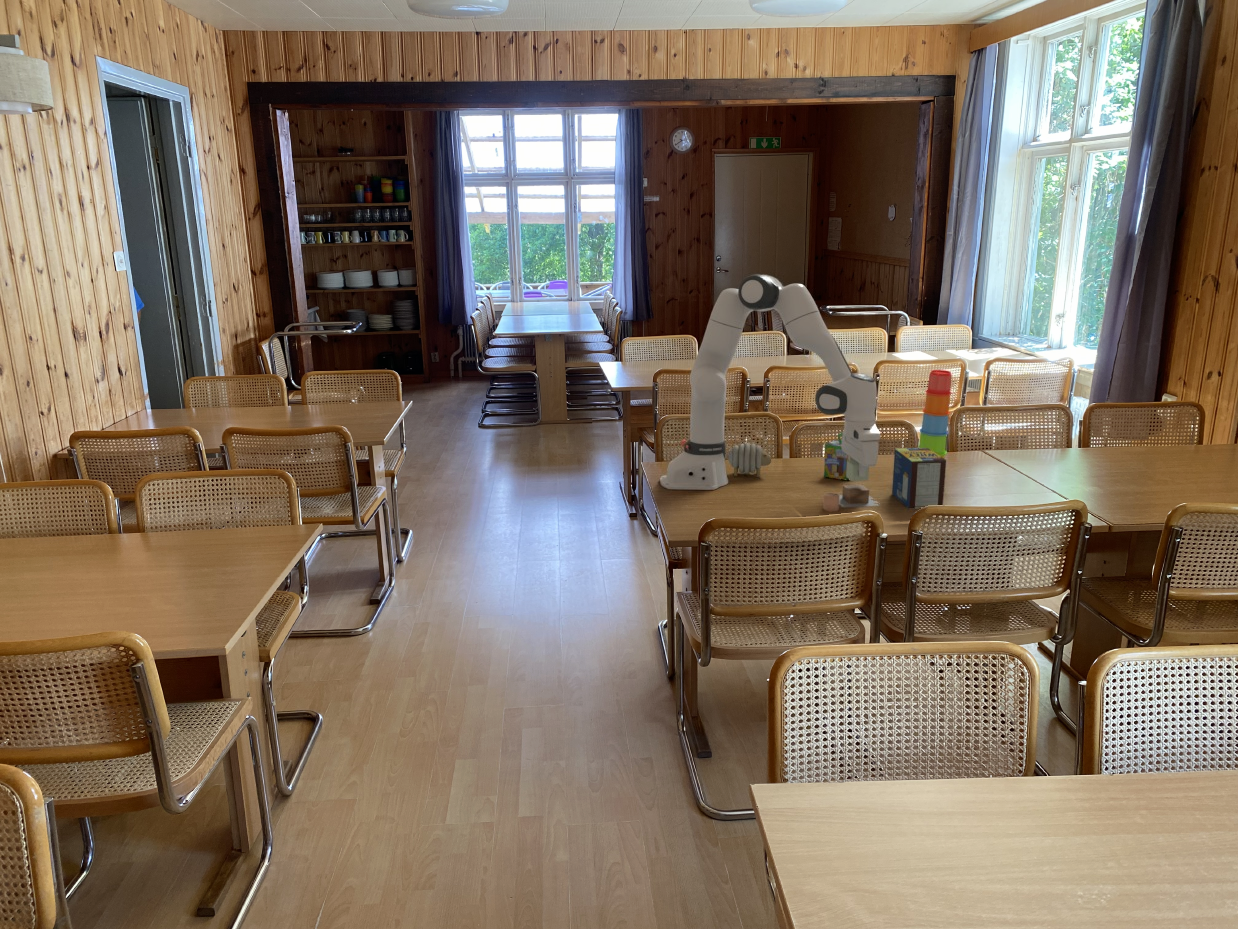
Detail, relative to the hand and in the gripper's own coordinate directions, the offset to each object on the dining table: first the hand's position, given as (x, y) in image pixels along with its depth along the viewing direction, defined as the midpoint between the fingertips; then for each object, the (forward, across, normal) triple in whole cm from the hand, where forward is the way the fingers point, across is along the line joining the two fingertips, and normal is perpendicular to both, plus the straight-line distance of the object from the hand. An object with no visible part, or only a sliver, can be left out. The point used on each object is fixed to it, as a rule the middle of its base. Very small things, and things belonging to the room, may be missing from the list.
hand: (857, 473), depth 271 cm
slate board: (+9, 0, 0) cm, 9 cm away
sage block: (+2, 0, 0) cm, 2 cm away
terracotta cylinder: (+9, +7, -10) cm, 16 cm away
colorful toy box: (+10, -29, +6) cm, 31 cm away
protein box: (+10, +3, +18) cm, 20 cm away
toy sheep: (+9, -36, -25) cm, 45 cm away
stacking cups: (+10, -30, +37) cm, 48 cm away
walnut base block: (+8, 0, 0) cm, 9 cm away
